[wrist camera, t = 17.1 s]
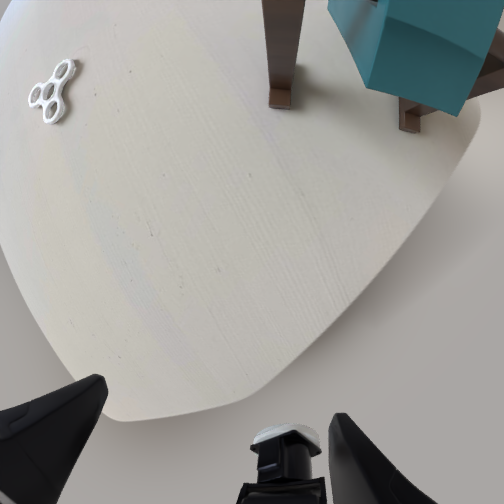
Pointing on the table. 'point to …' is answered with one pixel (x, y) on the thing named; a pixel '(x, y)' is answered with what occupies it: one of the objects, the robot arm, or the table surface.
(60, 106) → the fidget spinner
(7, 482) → the robot arm
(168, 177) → the table surface
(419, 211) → the table surface
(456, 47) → the teal angular block
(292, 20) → the rack
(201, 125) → the table surface
